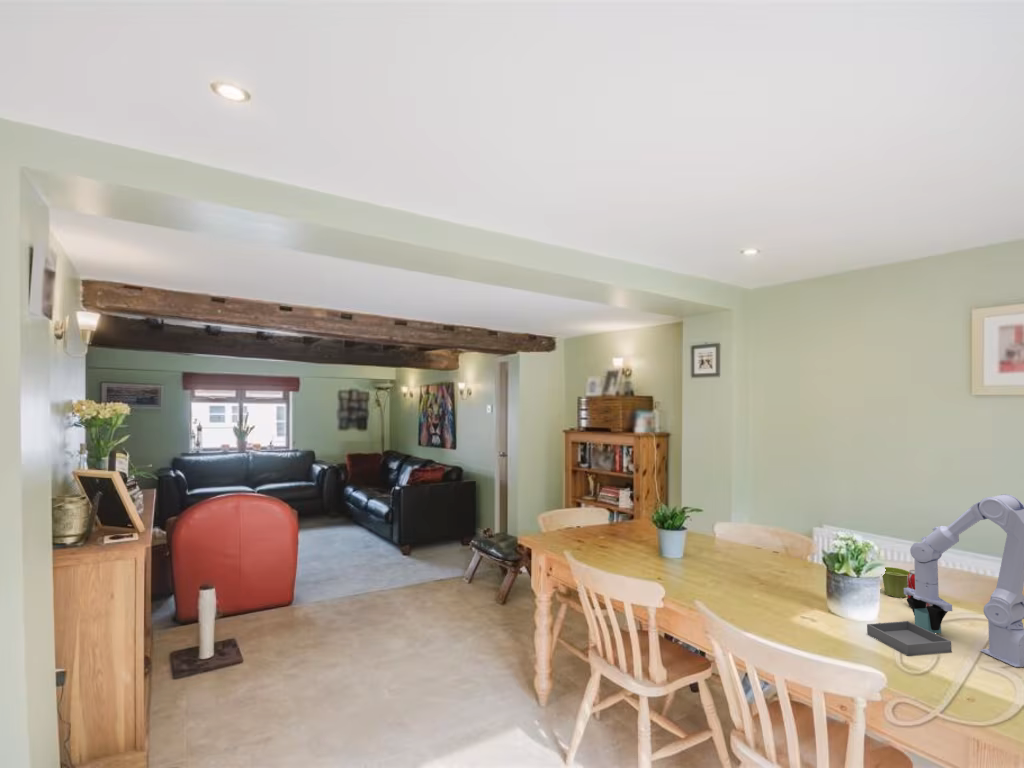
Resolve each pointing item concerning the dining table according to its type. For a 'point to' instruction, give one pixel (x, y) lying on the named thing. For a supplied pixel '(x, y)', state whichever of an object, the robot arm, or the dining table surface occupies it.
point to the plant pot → (895, 581)
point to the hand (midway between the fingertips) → (927, 626)
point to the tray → (909, 638)
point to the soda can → (912, 583)
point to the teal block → (924, 620)
